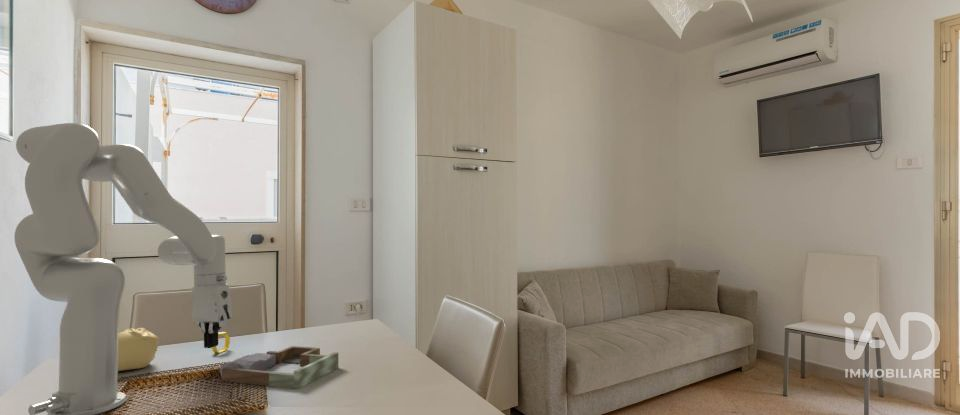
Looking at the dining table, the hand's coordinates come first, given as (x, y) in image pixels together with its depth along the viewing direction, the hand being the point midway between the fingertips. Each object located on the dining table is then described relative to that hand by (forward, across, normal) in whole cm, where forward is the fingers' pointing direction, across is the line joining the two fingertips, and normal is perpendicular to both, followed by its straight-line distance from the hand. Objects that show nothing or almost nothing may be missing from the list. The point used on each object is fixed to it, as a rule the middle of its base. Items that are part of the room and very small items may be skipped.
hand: (211, 346), depth 125 cm
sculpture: (+5, +20, +7) cm, 22 cm away
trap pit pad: (+6, -20, -10) cm, 23 cm away
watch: (+6, +9, -12) cm, 16 cm away
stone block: (+6, -13, +1) cm, 14 cm away
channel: (+5, -24, -2) cm, 25 cm away
